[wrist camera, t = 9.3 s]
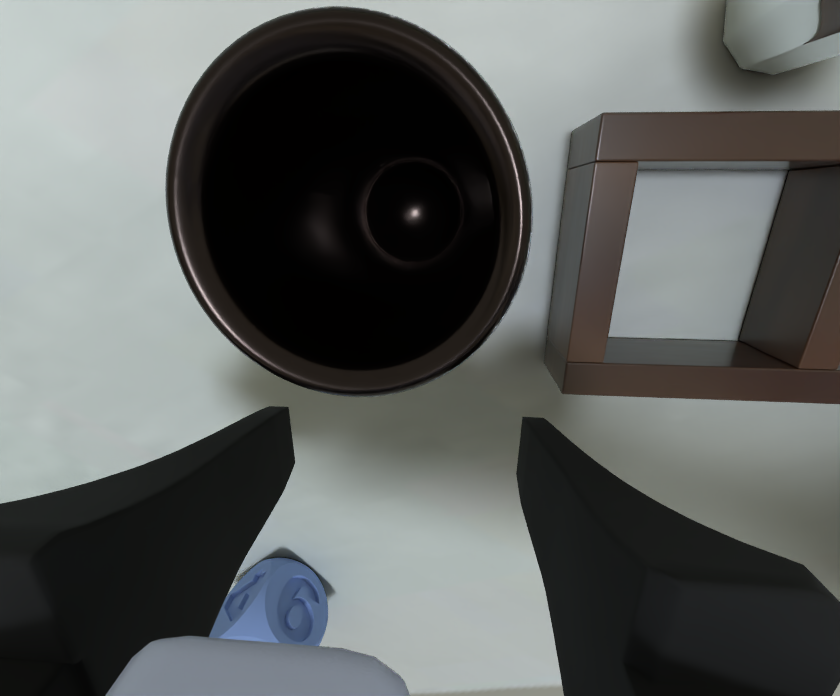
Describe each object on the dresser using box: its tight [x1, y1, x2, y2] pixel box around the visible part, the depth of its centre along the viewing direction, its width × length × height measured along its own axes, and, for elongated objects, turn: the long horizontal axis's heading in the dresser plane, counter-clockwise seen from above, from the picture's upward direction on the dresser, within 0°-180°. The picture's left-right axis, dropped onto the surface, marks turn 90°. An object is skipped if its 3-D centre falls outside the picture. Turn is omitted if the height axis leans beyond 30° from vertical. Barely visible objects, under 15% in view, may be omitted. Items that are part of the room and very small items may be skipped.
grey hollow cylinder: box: [166, 6, 533, 397], centre depth 10 cm, size 4×4×10 cm
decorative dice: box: [209, 558, 328, 646], centre depth 20 cm, size 4×4×4 cm
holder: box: [544, 110, 840, 404], centre depth 13 cm, size 8×16×3 cm, turn 90°
